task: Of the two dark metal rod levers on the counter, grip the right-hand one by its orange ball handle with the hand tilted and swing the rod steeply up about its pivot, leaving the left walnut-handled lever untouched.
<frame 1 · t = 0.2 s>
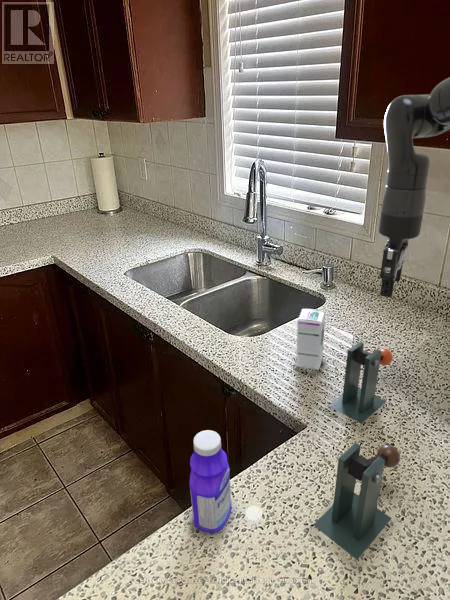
hand: (390, 287, 92), 25 cm above the worktop, tool pointing down, fingers open, 8 cm apart
left rod: (375, 461, 69), point 11 cm above the worktop, hinge at -25.0°
left bracket: (351, 526, 71), on the worktop
syrup box: (308, 366, 111), on the worktop
bottle: (212, 518, 74), on the worktop
right rod: (374, 357, 95), point 11 cm above the worktop, hinge at -25.0°
right bracket: (357, 407, 97), on the worktop
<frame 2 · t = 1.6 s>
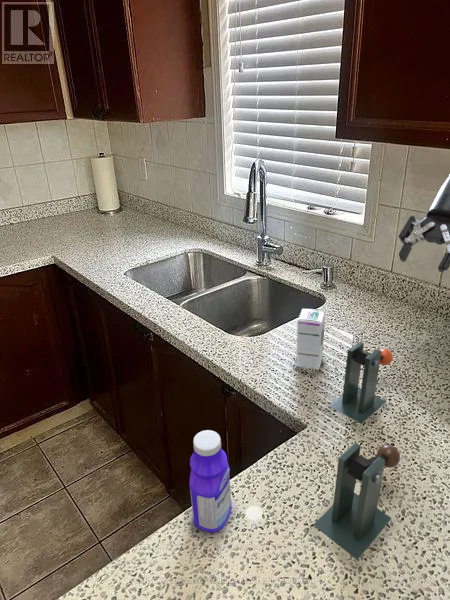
hand: (420, 265, 97), 27 cm above the worktop, tool tilted 45°, fingers open, 8 cm apart
nothing on the worktop moved.
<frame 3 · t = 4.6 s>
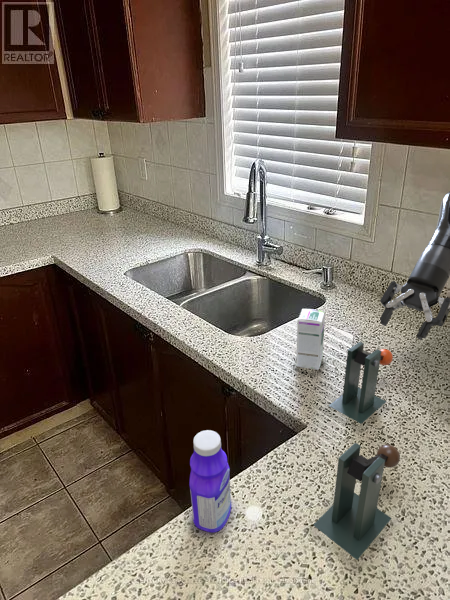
hand: (400, 331, 100), 13 cm above the worktop, tool tilted 45°, fingers open, 8 cm apart
nothing on the worktop moved.
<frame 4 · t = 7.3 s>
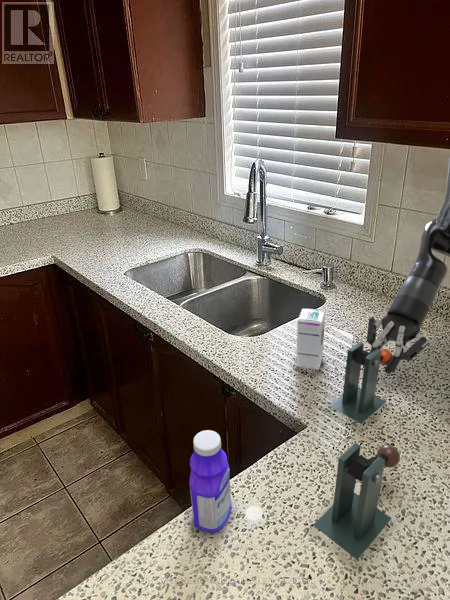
hand: (378, 368, 98), 7 cm above the worktop, tool tilted 45°, fingers closed on right rod, 3 cm apart
right rod: (374, 357, 95), point 11 cm above the worktop, hinge at -25.0°, touching gripper
everything else where it was.
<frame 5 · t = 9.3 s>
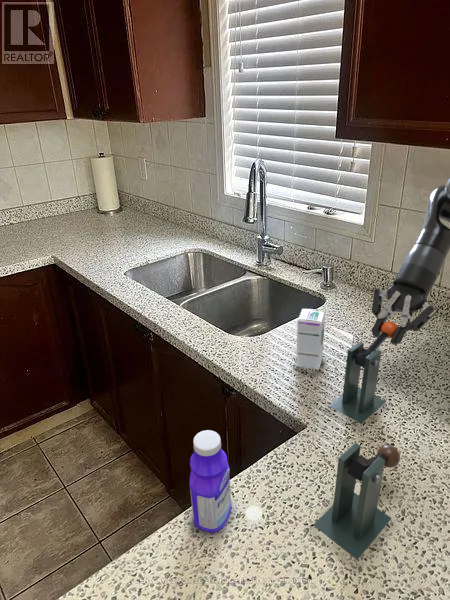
hand: (384, 339, 95), 14 cm above the worktop, tool tilted 45°, fingers closed on right rod, 3 cm apart
right rod: (377, 342, 93), point 14 cm above the worktop, hinge at 14.4°, touching gripper
everything else where it was.
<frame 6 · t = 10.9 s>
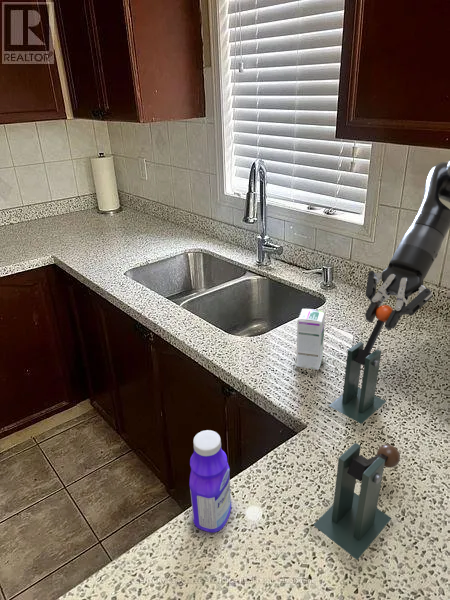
hand: (377, 324, 90), 19 cm above the worktop, tool tilted 45°, fingers closed on right rod, 3 cm apart
right rod: (374, 334, 91), point 17 cm above the worktop, hinge at 50.0°, touching gripper
everything else where it was.
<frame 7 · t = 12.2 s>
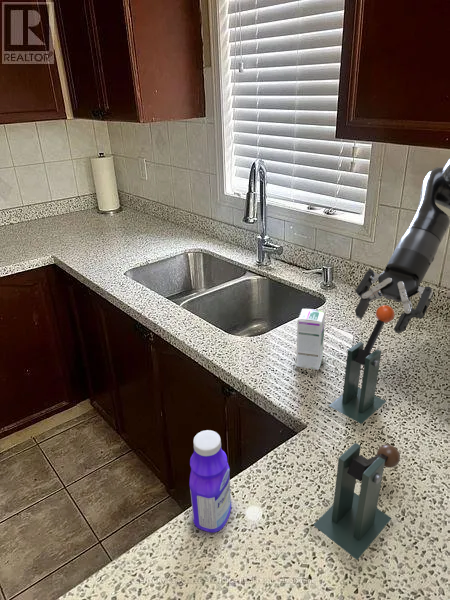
hand: (376, 324, 90), 19 cm above the worktop, tool tilted 45°, fingers open, 8 cm apart
right rod: (374, 334, 91), point 17 cm above the worktop, hinge at 49.3°
everything else where it was.
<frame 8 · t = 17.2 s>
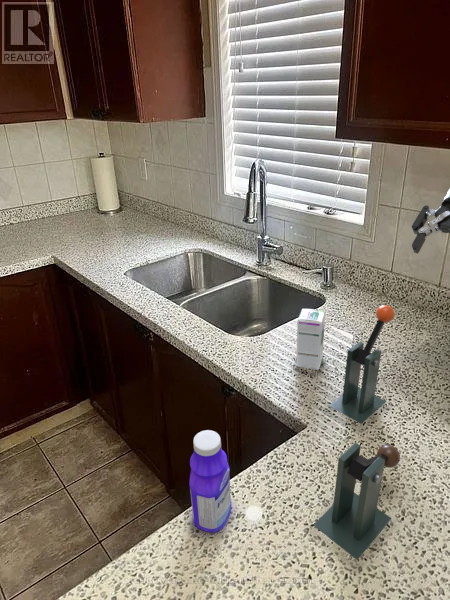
hand: (435, 256, 91), 31 cm above the worktop, tool tilted 45°, fingers open, 8 cm apart
nothing on the worktop moved.
at the end: right rod at +49° (first picture: -25°); right rod reached +50° during the clip, +49° at the end; left rod at -25° (first picture: -25°) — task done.
